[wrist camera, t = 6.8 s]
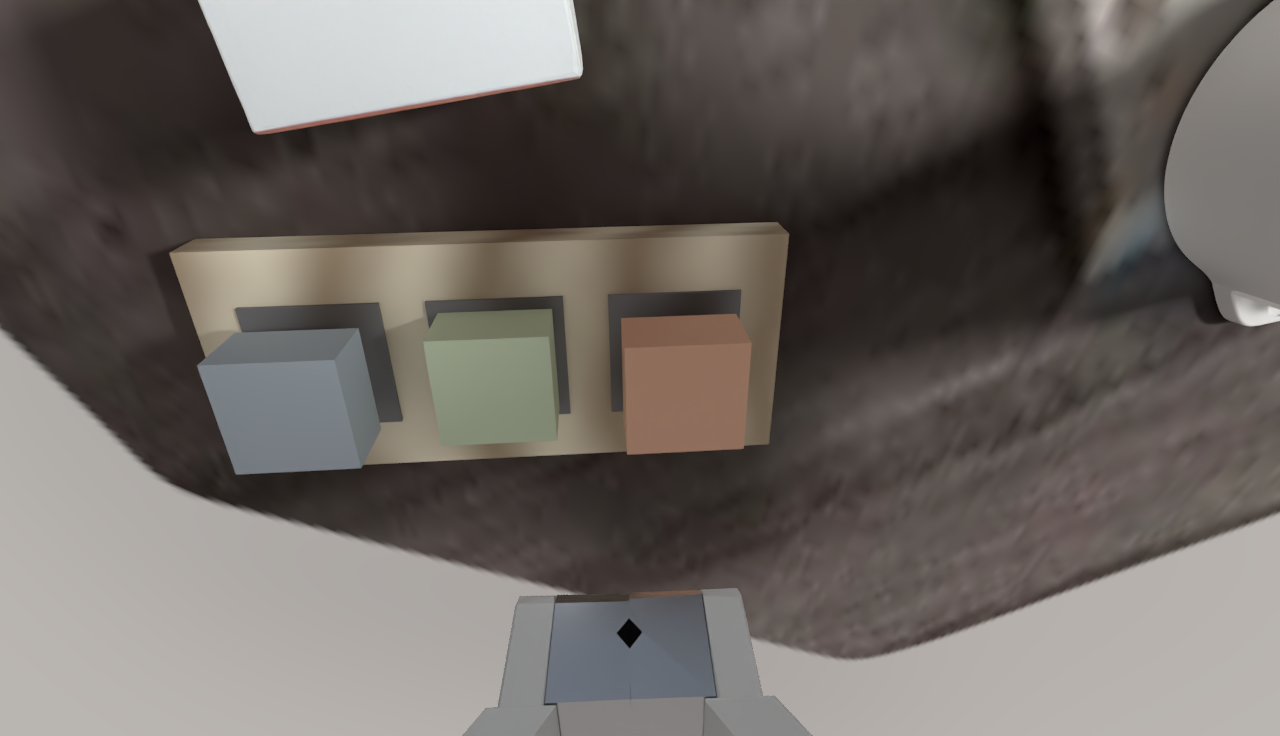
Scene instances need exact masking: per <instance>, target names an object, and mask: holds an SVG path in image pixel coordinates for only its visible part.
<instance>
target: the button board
mask: <svg viewBox="0 0 1280 736" xmlns="http://www.w3.org/2000/svg"><path fill="white" fill-rule="evenodd" d="M788 241H789V233H788V232H787V231H786V230H785V229H784V228H783V227H782V226H781V225H780V224H779V223H778V222H761V223H727V224H692V225H658V226H624V227H590V228H556V229H521V230H487V231H453V232H419V233H384V234H350V235H316V236H282V237H248V238H213V239H194V240H192V241H190V242H188V243H186V244H184V245H183V246H181V247H179V248H177V249H175V250H173V251H171V252H170V253H169V254H170V257H171V260H172V263H173V265H174V268H175V271H176V274H177V277H178V280H179V283H180V286H181V288H182V291H183V294H184V297H185V300H186V303H187V306H188V308H189V311H190V314H191V317H192V320H193V323H194V326H195V329H196V331H197V334H198V337H199V340H200V343H201V346H202V349H203V351H204V354H205V357H207V356H209V355H210V354H211V353H212V352H213V351H214V350H215V349H217V348H218V347H219V346H220V345H221V344H222V343H224V342H225V341H226V340H227V339H228V338H229V337H230V336H232V335H233V334H234V333H241V332H268V331H294V330H320V329H347V328H359V333H360V337H361V341H362V346H363V350H364V355H365V359H366V364H367V368H368V373H369V377H370V381H371V386H372V390H373V395H374V399H375V404H376V408H377V413H378V417H379V422H380V426H381V430H380V432H379V434H378V436H377V438H376V440H375V442H374V444H373V446H372V448H371V450H370V452H369V454H368V456H367V458H366V460H365V462H364V464H363V465H369V464H389V463H409V462H429V461H448V460H468V459H488V458H508V457H527V456H547V455H567V454H587V453H607V452H626V451H627V448H626V438H625V428H624V418H623V379H622V338H621V318H637V317H663V316H690V315H716V314H737V316H738V318H739V320H740V322H741V324H742V326H743V328H744V329H745V331H746V333H747V335H748V337H749V339H750V341H751V343H752V346H751V360H750V373H749V386H748V399H747V412H746V426H745V439H744V446H745V445H765V444H769V438H770V428H771V417H772V407H773V397H774V386H775V376H776V365H777V355H778V345H779V334H780V324H781V314H782V303H783V293H784V283H785V272H786V262H787V252H788ZM532 309H552V314H553V327H554V341H555V354H556V367H557V380H558V393H559V420H558V435H557V440H556V441H536V442H516V443H495V444H475V445H455V446H441V441H440V435H439V430H438V424H437V419H436V413H435V407H434V402H433V396H432V390H431V385H430V379H429V373H428V368H427V362H426V357H425V351H424V345H423V340H424V339H425V337H426V335H427V333H428V331H429V329H430V327H431V325H432V323H433V321H434V319H435V317H436V315H437V313H451V312H478V311H505V310H532Z"/></svg>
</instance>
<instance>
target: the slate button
mask: <svg viewBox="0 0 1280 736" xmlns="http://www.w3.org/2000/svg"><path fill="white" fill-rule="evenodd" d="M197 367H198V370H199V373H200V376H201V379H202V381H203V384H204V387H205V390H206V392H207V395H208V398H209V401H210V404H211V406H212V409H213V412H214V415H215V418H216V420H217V423H218V426H219V429H220V432H221V434H222V437H223V440H224V443H225V446H226V448H227V451H228V454H229V457H230V460H231V462H232V465H233V468H234V471H235V473H236V475H239V474H258V473H278V472H298V471H317V470H337V469H357V468H362V466H363V464H364V462H365V460H366V458H367V456H368V454H369V452H370V450H371V448H372V446H373V444H374V442H375V440H376V438H377V436H378V434H379V432H380V430H381V426H380V422H379V417H378V413H377V408H376V404H375V399H374V395H373V390H372V386H371V381H370V377H369V373H368V368H367V364H366V359H365V355H364V350H363V346H362V341H361V337H360V333H359V328H347V329H320V330H294V331H268V332H241V333H234V334H233V335H232V336H230V337H229V338H228V339H227V340H226V341H225V342H224V343H222V344H221V345H220V346H219V347H218V348H217V349H215V350H214V351H213V352H212V353H211V354H210V355H209V356H207V357H206V358H205V359H204V360H203V361H202V362H200V363H199V364H198V365H197Z"/></svg>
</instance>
